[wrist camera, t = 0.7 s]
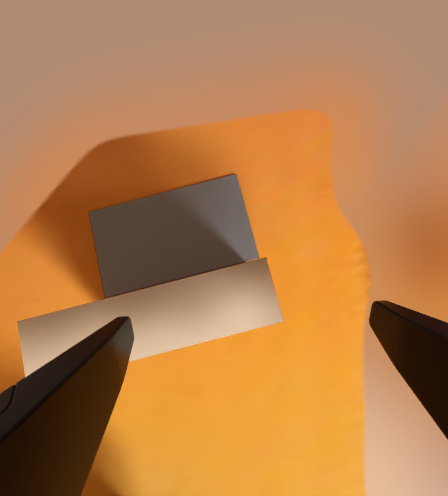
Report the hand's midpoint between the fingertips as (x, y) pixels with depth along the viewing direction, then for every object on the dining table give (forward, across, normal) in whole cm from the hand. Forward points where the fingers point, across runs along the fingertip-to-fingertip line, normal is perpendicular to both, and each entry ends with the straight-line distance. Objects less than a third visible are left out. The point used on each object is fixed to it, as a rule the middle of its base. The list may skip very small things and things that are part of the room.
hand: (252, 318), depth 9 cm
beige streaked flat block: (+11, +4, +6) cm, 13 cm away
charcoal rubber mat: (+13, +5, 0) cm, 14 cm away
